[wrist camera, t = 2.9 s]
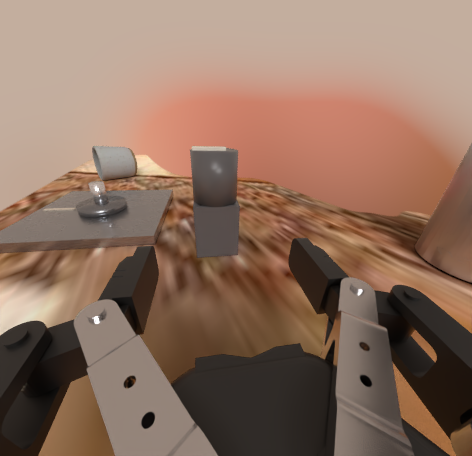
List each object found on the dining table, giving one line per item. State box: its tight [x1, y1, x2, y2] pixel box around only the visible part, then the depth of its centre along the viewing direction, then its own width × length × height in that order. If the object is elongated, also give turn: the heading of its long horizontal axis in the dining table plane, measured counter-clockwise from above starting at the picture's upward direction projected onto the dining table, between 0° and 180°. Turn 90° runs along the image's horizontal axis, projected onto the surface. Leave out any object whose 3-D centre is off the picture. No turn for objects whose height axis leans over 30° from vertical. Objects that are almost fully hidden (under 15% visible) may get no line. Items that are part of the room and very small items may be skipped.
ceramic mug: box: [92, 146, 137, 180], centre depth 50 cm, size 11×8×8 cm
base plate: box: [0, 181, 173, 253], centre depth 29 cm, size 18×18×5 cm
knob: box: [190, 146, 240, 258], centre depth 22 cm, size 5×5×11 cm
